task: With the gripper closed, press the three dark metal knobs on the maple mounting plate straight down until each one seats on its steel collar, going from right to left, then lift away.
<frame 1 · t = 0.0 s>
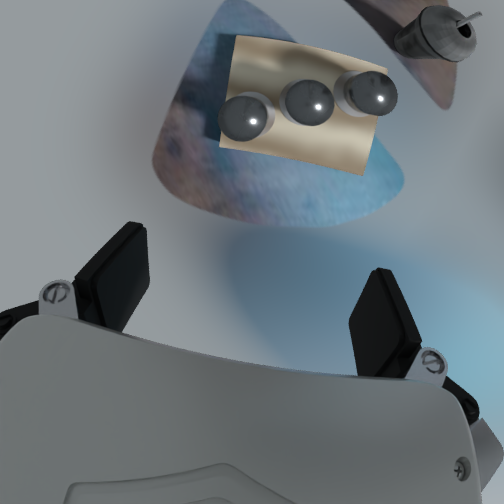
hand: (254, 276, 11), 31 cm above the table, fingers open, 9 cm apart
knob mid: (308, 102, 27), point 9 cm above the table, slide at 2.5 cm
beverage cup: (406, 45, 26), on the table
mount plate: (302, 102, 34), on the table
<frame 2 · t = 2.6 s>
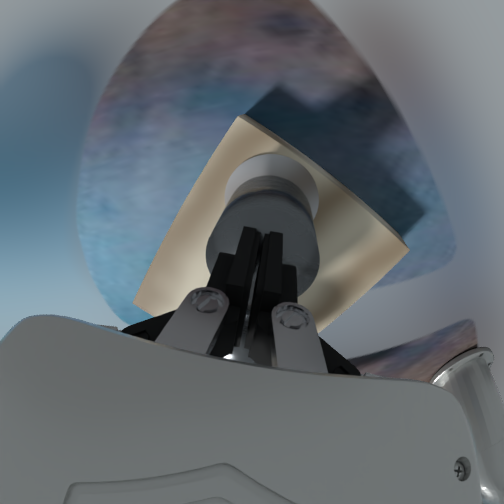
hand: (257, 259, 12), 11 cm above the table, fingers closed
knob mid: (245, 332, 18), point 9 cm above the table, slide at 2.5 cm
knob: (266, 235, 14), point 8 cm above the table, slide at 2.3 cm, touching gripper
mount plate: (258, 262, 25), on the table
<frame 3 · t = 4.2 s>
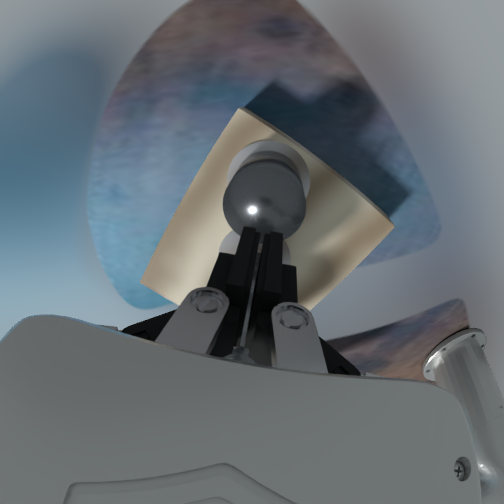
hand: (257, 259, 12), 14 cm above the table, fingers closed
knob mid: (247, 298, 20), point 9 cm above the table, slide at 2.5 cm
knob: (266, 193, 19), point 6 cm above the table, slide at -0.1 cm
mount plate: (257, 241, 27), on the table
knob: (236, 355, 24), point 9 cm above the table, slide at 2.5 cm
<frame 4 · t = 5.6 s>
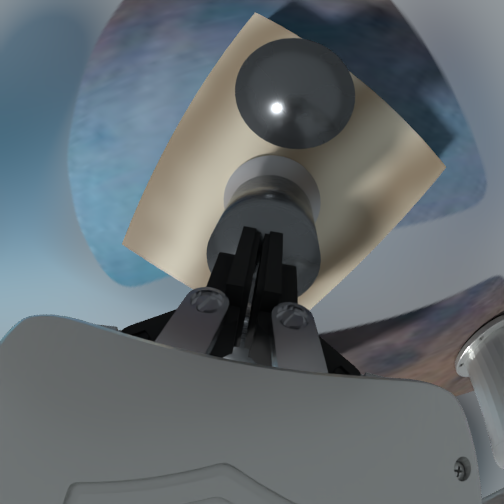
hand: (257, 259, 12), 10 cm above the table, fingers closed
knob mid: (266, 235, 14), point 8 cm above the table, slide at 1.7 cm, touching gripper
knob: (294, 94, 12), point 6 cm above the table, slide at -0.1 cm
mount plate: (273, 188, 21), on the table
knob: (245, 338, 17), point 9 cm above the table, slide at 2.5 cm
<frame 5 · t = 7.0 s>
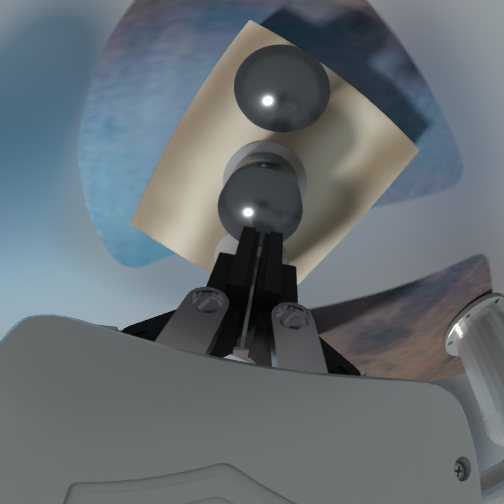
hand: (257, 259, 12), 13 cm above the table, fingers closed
knob mid: (262, 195, 18), point 6 cm above the table, slide at -0.1 cm
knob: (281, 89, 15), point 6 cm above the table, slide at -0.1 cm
mount plate: (266, 172, 23), on the table
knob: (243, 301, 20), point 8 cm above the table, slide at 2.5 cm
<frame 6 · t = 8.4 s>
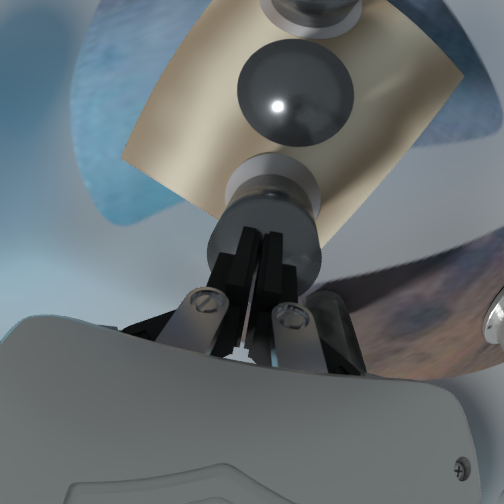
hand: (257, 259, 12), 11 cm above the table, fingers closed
knob mid: (294, 93, 12), point 6 cm above the table, slide at -0.1 cm
beverage cup: (322, 306, 27), on the table
mount plate: (292, 95, 17), on the table
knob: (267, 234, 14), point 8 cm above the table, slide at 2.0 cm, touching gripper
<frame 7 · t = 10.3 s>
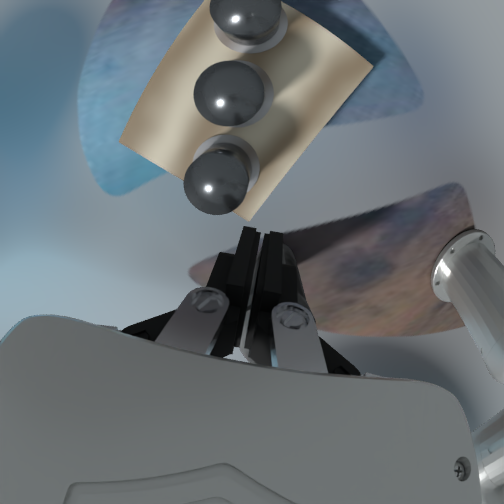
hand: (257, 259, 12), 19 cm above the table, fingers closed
knob mid: (232, 93, 19), point 6 cm above the table, slide at -0.1 cm
beverage cup: (275, 257, 34), on the table
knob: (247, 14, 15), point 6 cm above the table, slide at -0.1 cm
mount plate: (240, 93, 24), on the table
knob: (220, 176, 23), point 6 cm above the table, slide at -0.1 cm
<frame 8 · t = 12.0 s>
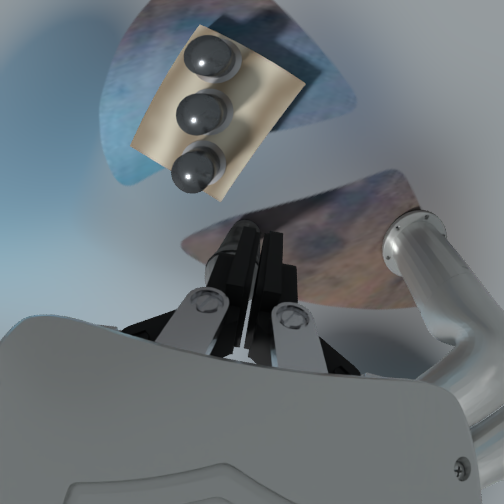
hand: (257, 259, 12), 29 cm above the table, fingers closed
knob mid: (202, 113, 30), point 6 cm above the table, slide at -0.1 cm
beverage cup: (245, 232, 45), on the table
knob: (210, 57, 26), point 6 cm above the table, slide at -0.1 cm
mount plate: (214, 110, 35), on the table
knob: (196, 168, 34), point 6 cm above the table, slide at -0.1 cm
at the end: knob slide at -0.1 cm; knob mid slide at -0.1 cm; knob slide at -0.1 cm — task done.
